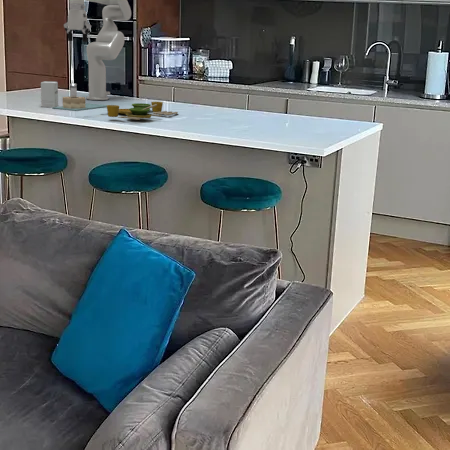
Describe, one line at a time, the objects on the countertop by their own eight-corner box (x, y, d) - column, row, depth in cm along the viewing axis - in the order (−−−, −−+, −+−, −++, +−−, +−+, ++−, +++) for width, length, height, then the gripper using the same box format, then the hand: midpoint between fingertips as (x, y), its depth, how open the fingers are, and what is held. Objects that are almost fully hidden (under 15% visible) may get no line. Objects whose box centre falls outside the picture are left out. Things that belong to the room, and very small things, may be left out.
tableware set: (138, 120, 342) (138, 107, 340) (89, 115, 353) (89, 102, 352) (181, 113, 378) (182, 101, 376) (136, 109, 389) (136, 97, 388)
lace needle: (73, 106, 378) (72, 83, 375) (78, 107, 377) (77, 83, 374) (69, 107, 375) (68, 83, 372) (74, 107, 374) (73, 83, 371)
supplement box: (55, 107, 378) (54, 82, 375) (40, 107, 378) (40, 82, 375) (58, 106, 385) (58, 81, 382) (44, 105, 385) (43, 81, 382)
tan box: (72, 105, 383) (72, 96, 382) (89, 107, 378) (89, 97, 377) (58, 107, 373) (58, 97, 372) (75, 109, 369) (75, 99, 367)
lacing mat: (88, 104, 398) (88, 103, 398) (111, 106, 392) (111, 105, 392) (52, 108, 372) (52, 107, 372) (76, 110, 366) (76, 109, 366)
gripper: (94, 8, 384) (95, 41, 389) (68, 7, 391) (69, 40, 396) (85, 7, 378) (86, 42, 382) (59, 7, 385) (60, 40, 389)
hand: (77, 41), depth 389 cm, fingers open, 9 cm apart
